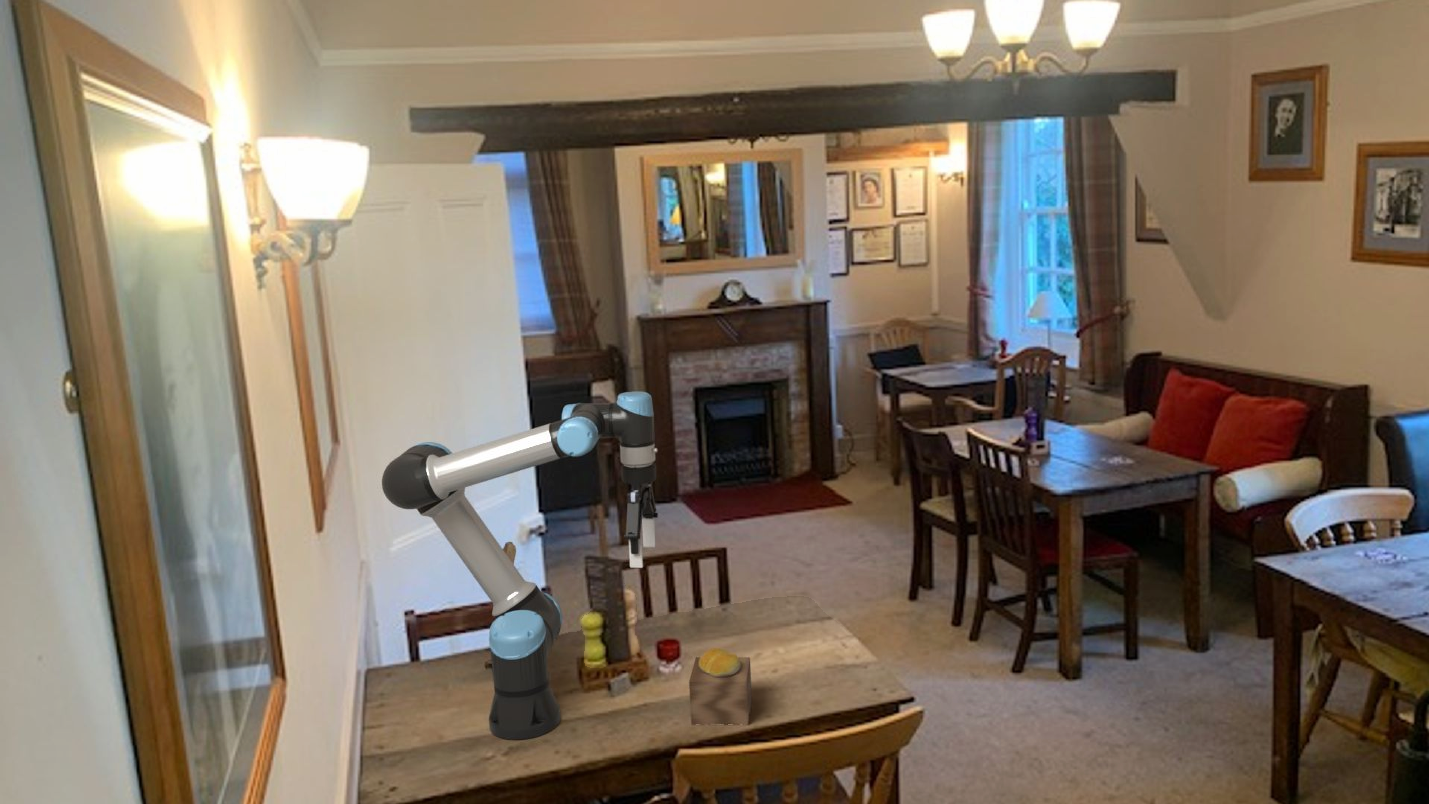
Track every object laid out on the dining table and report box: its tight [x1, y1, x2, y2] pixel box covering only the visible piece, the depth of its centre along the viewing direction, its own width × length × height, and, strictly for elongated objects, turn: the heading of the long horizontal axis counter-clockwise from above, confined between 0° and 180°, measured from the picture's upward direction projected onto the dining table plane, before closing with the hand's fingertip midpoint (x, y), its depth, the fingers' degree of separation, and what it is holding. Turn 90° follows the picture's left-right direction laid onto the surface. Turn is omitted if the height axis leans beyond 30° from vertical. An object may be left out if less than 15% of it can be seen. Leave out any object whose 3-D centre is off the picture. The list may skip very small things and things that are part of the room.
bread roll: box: [699, 647, 740, 677], centre depth 227 cm, size 8×9×4 cm
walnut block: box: [688, 656, 753, 726], centre depth 229 cm, size 12×12×10 cm
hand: (643, 556), depth 235 cm, fingers open, 13 cm apart
